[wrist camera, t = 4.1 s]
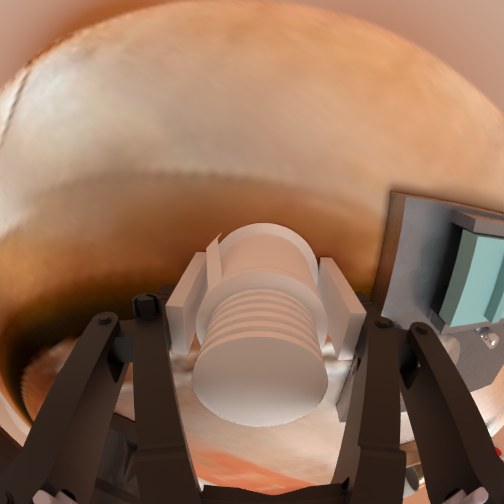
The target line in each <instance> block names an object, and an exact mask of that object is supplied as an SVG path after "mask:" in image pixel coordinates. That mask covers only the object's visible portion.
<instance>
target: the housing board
mask: <svg viewBox="0 0 504 504" xmlns="http://www.w3.org/2000/svg"><path fill="white" fill-rule="evenodd" d="M463 229H467V230H470V231H472V232H476V233H482V234H489V235H496V236H502V237H504V214H503V213H499V212H495V211H491V210H487V209H482V208H478V207H474V206H469V205H465V204H460V203H455V202H450V201H445V200H440V199H434V198H429V197H423V196H417V195H411V194H405V193H398V192H391V198H390V206H389V213H388V220H387V226H386V232H385V238H384V244H383V249H382V255H381V260H380V264H379V269H378V274H377V278H376V283H375V287H374V291H373V295H372V299H371V302H372V304H373V306H374V307H375V308H376V310H377V311H378V313H379V314H380V316H383V317H386V318H388V319H390V320H392V321H393V322H394V324H395V328H399V329H406V330H409V328H410V325H411V324H412V323H413V322H424V323H426V324H427V325H429V326H430V327H431V328H432V329H433V330H434V332H435V333H436V335H437V336H438V338H439V339H440V341H441V343H442V344H443V346H444V348H445V349H446V351H447V353H448V354H449V356H450V358H451V359H452V361H453V363H454V364H455V366H456V368H457V370H458V371H459V373H460V375H461V377H462V379H463V381H464V382H465V384H466V386H467V388H468V390H469V392H472V391H475V390H478V389H480V388H483V387H485V386H488V385H490V384H492V382H493V381H494V379H495V377H496V376H497V374H498V373H499V371H500V369H501V368H502V366H503V364H504V318H501V319H500V320H499V322H496V323H490V322H489V321H485V322H480V323H474V324H468V325H461V326H454V327H449V326H448V325H447V324H446V323H445V322H444V320H443V319H442V318H441V317H440V316H439V313H440V310H441V308H442V305H443V302H444V299H445V296H446V293H447V290H448V287H449V283H450V280H451V277H452V273H453V270H454V266H455V262H456V259H457V255H458V251H459V246H460V242H461V237H462V233H463ZM357 358H358V355H357V352H356V354H355V357H354V360H353V363H352V366H351V369H350V372H349V374H348V377H347V380H346V383H345V385H344V388H343V391H342V393H341V396H340V398H339V401H338V403H337V406H336V409H337V413H338V417H339V421H340V422H346V421H347V416H348V410H349V405H350V399H351V393H352V386H353V380H354V375H352V372H353V369H354V367H355V364H356V361H357ZM419 366H420V365H419ZM400 404H401V412H405V411H407V410H406V407H405V403H404V400H403V397H402V394H401V391H400Z"/></svg>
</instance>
